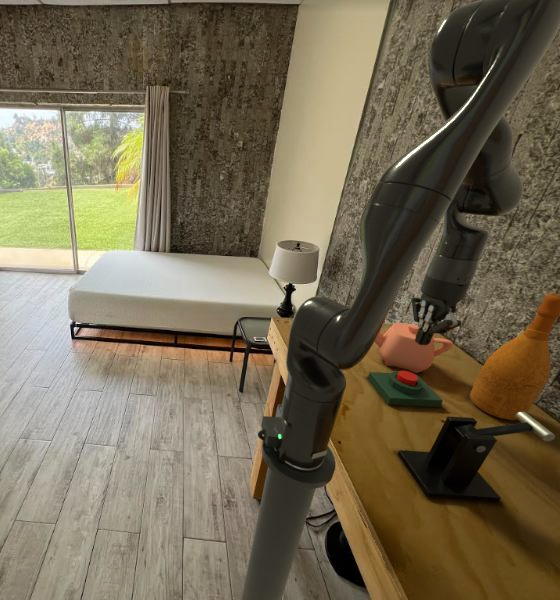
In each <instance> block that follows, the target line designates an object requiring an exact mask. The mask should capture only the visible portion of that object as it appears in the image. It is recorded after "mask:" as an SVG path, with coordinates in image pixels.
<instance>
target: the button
mask: <svg viewBox="0 0 560 600" xmlns="http://www.w3.org/2000/svg"><path fill="white" fill-rule="evenodd" d="M398 371H399V372H398V375H397V377H396V379H397V380H398V381H399V382H401V383H403V384H406V385H409V386H415V385H416V382H417V380H418V377H417V376H416V375H415V374H416V373H414V372H412V371H407V370H398Z"/></svg>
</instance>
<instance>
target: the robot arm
mask: <svg viewBox="0 0 560 600" xmlns="http://www.w3.org/2000/svg"><path fill="white" fill-rule="evenodd" d="M559 30H560V0H476V1H473V2H469V3H466V4H464V5H462V6H459V7H457V8H455V9H453V10H452V11H451V12H450V13H449V14H448V15H447V16H446V17H445V18H444V20H443V21H442V23H440V25H439V27H438V29H437V31H436V33H435V34H434V37H433V39H432V41H431V45H430V49H429V54H428V60H427V61H428V63H427V69H428V71H427V72H428V78H429V83H430V86H431V89H432V93H433V94H434V98H435V100H436V103H437V105H438V108H439V111H440V114H441V117H442V119H443V121H444V122H443V124H440V126H438V127H437V128H436V129H435V130H433V131H432V132H431V133H430V134H428V135H427V136H426V137H425V138H423V139H422V140H420V141H419V142H418V143H416V144H415V145H414V146H413V147H412V148H410V149H409V150H408V151H406V152H405V153H404V154H402V155H401V156H400V157H398V159H396V161H394V162H393V163H392V164H391V165H390V166H388V168H386V170H384V172H383V174H382V175H381V177H380V178H379V180H378V182H377V184H376V185H375V187H374V189H373V191H372V193H371V195H370V197H369V198H368V200H367V202H366V204H365V206H364V208H363V211H362V212H361V216H360V218H359V243H360V251H361V253H360V254H361V261H362V273H361V280H360V284H359V286H358V289H357V291H356V295H355V297H354V299H353V301H352V303H351V305H350V307H349V306H347V305H344V303H343V304H342V303H340V302H338V301H336V300H334V299H331V298H329V297H327V296H323V295H315V296H312V297H310V298H307V299H306V300H305V301H304V302H303V303H302V304H301V305H300V306H299V307H298V308H297V310H296V311H295V314H294V316H293V318H292V321H291V325H290V329H289V337H288V343H287V352H286V359H285V366H286V367H285V368H286V371H287V378H286V383H285V388H284V392H283V397H282V401H281V404H277V407H276V411H275V415H274V416H268V415H263V416H262V419H261V423H260V424H261V425H260V427H261V429H260V430H259V431H258V432H257V437H258V438H259V439H260V440H261V441H265V443H266V446H267V447H273V448H274V451H275V454H276V457H277V461H278V463H280V464H285V465H287V466H288V467H290V468H292V469H294V470H296V471H300V472H314V471H317V470H318V469H320V468H321V466H322V464H323V461H324V456H325V455H326V453H327V446H328V447H329V443H330V439H331V437H332V433H333V431H334V427H335V423H336V420H337V417H338V414H339V410H340V408H341V405H342V401H343V397H344V394H345V391H346V388H347V387H346V386H347V378H346V376H345V374H344V372H343V371H346V370H350V369H353V368H354V367H355V366H357V365H358V364H359V363H360V362H361V361H362V360H363V359H364V358H365V357H366V356H367V354H368V353H369V351H370V350H371V348H372V347H373V345H374V343H375V340H376V338H377V336H378V334H379V332H380V333H381V330H382V328H383V326H384V323H385V321H386V320H387V317H388V316H389V315H388V314H389V313H390V310H391V308H392V306H393V304H394V302H395V300H396V298H397V296H398V293H399V291H400V289H401V287H402V286H403V284H404V282H405V280H406V278H407V276H408V275H409V272H410V271H411V269H412V268H413V266H414V264H415V263H416V261H417V260H418V258H419V256H420V254H421V253H422V251H423V250H424V248H425V246H426V244H427V243H428V242H429V240H430V238H431V237H432V235H433V234H434V232H435V231H436V229H437V228H438V226H439V224H440V222H441V221H442V219H443V218H444V219H443V228H442V234H441V237H440V240H439V243H438V245H437V248H436V251H435V253H434V255H433V256H432V259H431V260H430V262H429V264H428V268H427V269H426V273H425V276H424V278H423V281H422V284H421V286H420V289H419V290H420V293H422V294H421V295H420V297H411V307H412V308H411V309H412V315H413V321H414V322H415V323H417V325H418V327H419V329H418V332H417V334H416V338H415V341H416V342H417V343H418V344H419V345H428V344H429V343H430V342H431V339H432V337H433V336H434V334H439V335H444V334H445V333H447V332H450V331H452V330H454V329H456V328H458V327H460V326H461V325H462V321H461V320H460V319H456V316H455V313H456V312H457V305H458V303H460V302H461V301H463V300H464V299H465V297H466V295H467V293H468V290H469V288H470V287H471V283H472V281H473V279H474V276H475V275H476V272H477V270H478V267H479V261H480V259H481V256H482V254H483V252H484V250H485V248H486V245H487V243H488V241H489V238H490V231H488V230H487V229H485V228H483V227H480V226H477V225H475V224H472V223H469V222H468V221H467V218H466V215H475V216H483V217H501V216H504V215H507V214H509V213H510V212H512V211H513V210H515V208H517V206H518V205H519V204H520V202H521V200H522V198H523V194H524V183H523V180H522V177H521V176H520V174H519V172H518V170H517V168H516V167H515V164H514V162H513V161H512V159H513V150H514V131H513V128H512V126H511V124H510V122H509V121H508V120H507V118H506V117H505V116H504V115H505V113H506V112H507V111H508V109H509V107H510V106H512V103H513V102H514V100H515V99H516V98H517V96H518V95H519V93H520V92H521V90H522V89H523V88H524V87H525V85H526V83H527V81H528V80H529V79H530V77H531V76H532V74H533V73H534V72H535V70H536V68H537V67H538V65H539V64H540V63H541V61H542V59H543V58H544V56H545V55H546V53H547V51H548V50H549V48H550V47H551V45H552V43H553V41H554V39H555V37H556V35H557V33H558V32H559ZM433 338H434V337H433Z"/></svg>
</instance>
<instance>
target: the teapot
mask: <svg viewBox="0 0 560 600" xmlns="http://www.w3.org/2000/svg"><path fill="white" fill-rule="evenodd" d="M418 329H419V327H418V324H415V323H405V322H395V323H394V324H392V325H391V326H390V327H389V329H387V330H386V332H385V333H384V334H382V333H381V331H380V332H379V334H378V336H377V338H376V340H375V341H374V343H375V345H376V346H378V352H379V354H380V357H381V359H382V360H383V361H384V364H385V365H386V366H388V367H389V366H390V367H397V368H401V369H404V370H409V372H411V373H414V374H418V373H420V372H424V371H426V370H428V369H429V368H430V367H431V366H432V364H433V362H434V358H435V357H438V356H440V355H442V354H444V353H447V352H448V351H449V350H450V349H452V348H453V346H454V343H453V341H451V340H450V339H446V338H440V337H439V338H438V337H432V339H431V342H430V343H429V344H428V345H419V344H418V343H417V342H416V341H415V338H416V334H417V332H418ZM435 343H440V344H442V345H441V346H440V347H439V348H437V349H436V350H435Z"/></svg>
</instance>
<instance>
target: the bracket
mask: <svg viewBox="0 0 560 600" xmlns="http://www.w3.org/2000/svg"><path fill="white" fill-rule="evenodd" d="M477 423H478V421H477V420H476V419H475V418H474V417H465V416H447V417H446V419H445V421H444V422H443V424H442V427H441V429H440V430H439V433H438V434H437V436H436V438H435V440H434V442H433V444H432V445H431V448H430V450H429V451H420V450H419V451H418V450H402V449H398V452H397V456H398V457H399V459H400V461H401V462H402V463H403V465H404V466H405V468H406V469H407V470H408V472H409V473H410V475H411V476H412V478H413V479H414V481H415V482H416V483H417V485H418V487H419V488H420V489H421V491H422V493H423V494H424V495H425V497H426V498H434V499H435V498H437V499H438V498H439V499H447V500H448V499H450V500H464V501H478V502H489V503H490V502H491V503H499V502H500V500H501V499H502V497H501V496H500V495H499V494H498V492H496V490H494V488H493V487H492V486H491V485H490V484H489V483H488V482H487V480H485V478H484V477H483V476H482V475H481V474H480V473H479V470H480V468H481V467H482V466H483V464H484V463H485V461H486V459H487V457H488V456H489V455H490V453H491V451H492V449H493V448H494V446H495V445H496V443H497V441H498V440H497V439H496V437H495V436H489V435H472V434H465V435H464V436H463V438H462V440H461V442H460V443H459V442H458V441H457V439H456V438H455V437H454V436H453V434H454V427H456V426H463V425H470V424H472V425H473V426H474V427H475V428H476V426H477Z"/></svg>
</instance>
